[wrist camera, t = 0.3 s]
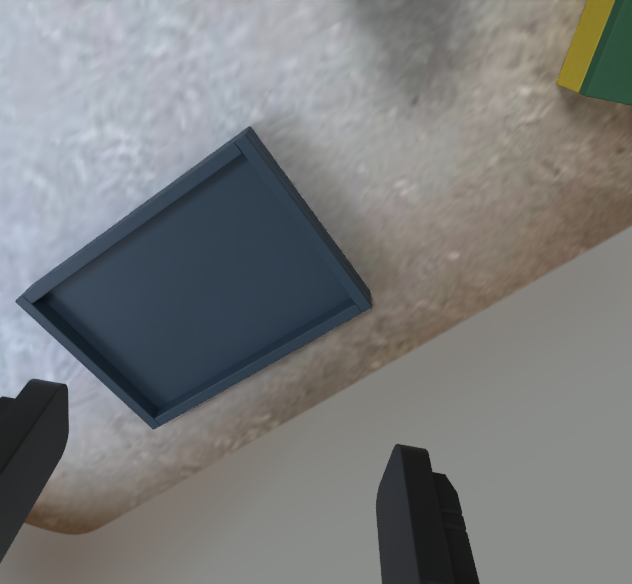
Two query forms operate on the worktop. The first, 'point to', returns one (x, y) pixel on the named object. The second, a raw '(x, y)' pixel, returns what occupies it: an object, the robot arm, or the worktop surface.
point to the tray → (200, 285)
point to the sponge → (601, 52)
